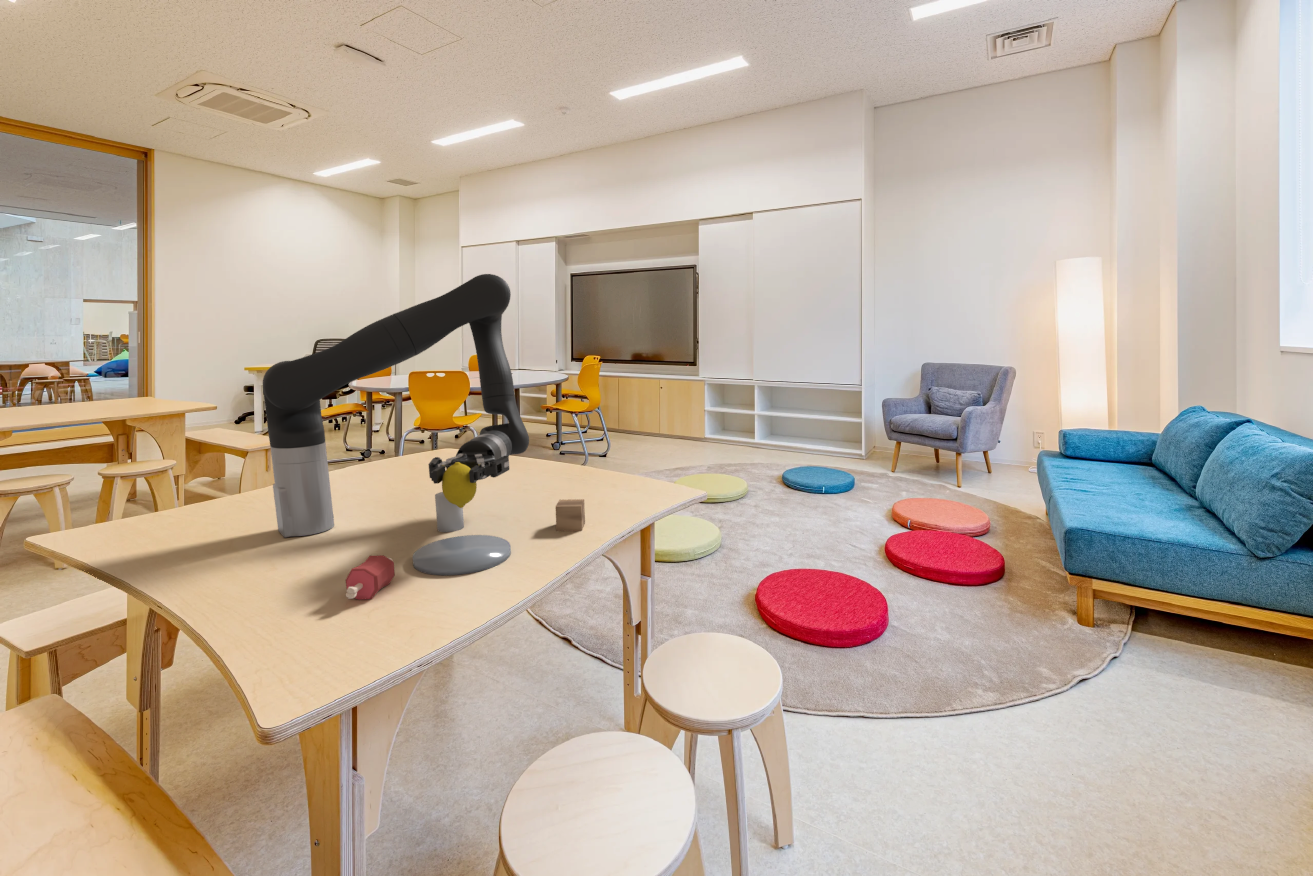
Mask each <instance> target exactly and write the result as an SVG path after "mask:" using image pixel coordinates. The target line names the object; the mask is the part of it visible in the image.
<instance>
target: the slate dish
mask: <svg viewBox="0 0 1313 876" xmlns="http://www.w3.org/2000/svg"><path fill="white" fill-rule="evenodd" d="M511 548H512V547H511V543H510V541H508V540H507V539H505V538H503V537H499V536H495V535H494V536H493V535H487V534H468V535H459V536H458V535H457V536H451V537H448V538H447V537H446V538H442V539H439V540H435V541H433V542H429V543H427V544H425V545H423V546H421V547H419V548H417V550H416V551H414V553H413V554H412V565H413V567H414V569H415V570H417V571H418V572H420V573H424V574H427V575H434V576H457V575H458V576H459V575H467V574H472V573H474V574H475V573H477V572H478V573H479V572H482V571H486V570H488V569H492V568H493V567H496V566H499V565H501V564H503V563H504V562H505V561H507V560H508V559H509V558H510V556H511V554H512V550H511Z"/></svg>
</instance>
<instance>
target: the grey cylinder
mask: <svg viewBox="0 0 1313 876" xmlns="http://www.w3.org/2000/svg"><path fill="white" fill-rule="evenodd" d="M434 501H435V513H436V516H435V517H436V529H437V531H438V532H441V533H453V532H458V531H462V530H463V529H464V528H465V521H464V507H463V508H459V507H458V506H457V505H455V504H452V503H450V502H449V501H448V500H447V499H446V498H445V496H444V494H443V491H440V492H437V493H436V494H434Z"/></svg>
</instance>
